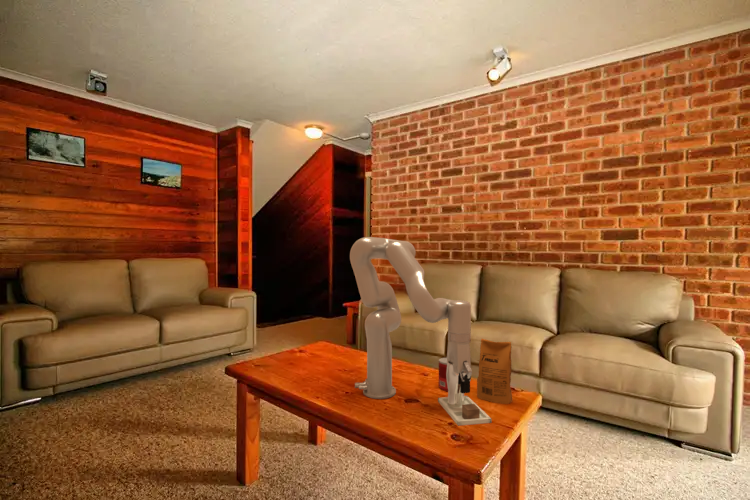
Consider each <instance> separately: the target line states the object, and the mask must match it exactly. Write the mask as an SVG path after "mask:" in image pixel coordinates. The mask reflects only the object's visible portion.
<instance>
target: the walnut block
mask: <svg viewBox="0 0 750 500" xmlns="http://www.w3.org/2000/svg"><path fill="white" fill-rule="evenodd" d="M475 404H476V403H475ZM475 404H465V405H462V417H463V419H475V418H480V409H479V408H478V407H477V406H476V405H475Z"/></svg>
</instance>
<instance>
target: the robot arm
mask: <svg viewBox="0 0 750 500" xmlns="http://www.w3.org/2000/svg"><path fill="white" fill-rule="evenodd" d="M416 254H417V253H416V248H415V246H414V245H413V244H412V243H411V242H409V241H407V240H397V239H392V238H385V237H375V236H374V237H373V236H365V237H361V238H359V239H357V240H356V241H355V242H354V243H353V244H352V246H351V248H350V251H349V261H350V264H351V268H352V270H353V275H354V276H355V281H356V285H357V288H358V293H359V295H360V299H361V303H362V304H363V305H364V306H365V307H366V308H377V310H374V311H372V312H370V313H369V314H368V315H367V316H366V318H365V320H364V330H365V337H366V358H367V359H366V371H367V372H366V378H365V381H362V382H354V388H355V389H358V390H360V391H362V392H363V396H365V397H368V398H369V399H370V398H371V399H379V400H383V399H389V398H392V397H394V396H395V395H396V394H397V389H396V388H395V387H394V386H393V352H392V351H393V347H392V346H393V344H392V340H391V337H390V332H391V333H392V332H393V331H396V330H397V329H398V328H399V327H400V325H401V323H402V314H401V311H400V307H399V302H398V300H397V297H396V293H395V290H394V289H393V287H392V286H391V284H390V283H388V282H386V281H380V280H379V276H378V273H377V270H376V267H375V265H373V263H372V259H376V260H377V259H380V260H381V259H383V260H387V261H388V262H389V264H390V265H391V266H392V267H393V269H394V270H395V272H396V273H397V274H398V276H399V277H400V279H401V280H402V282H403V283H404V284H405V289H406V293H407V296H408V298H409V301H410V303H411V304H412V306H413V307H414V309H415V310H416V311H417V313H418V315H420V317H421V318H422V319H423V320H424V321H425V322H427V323H431V324H434V323H438V322H441V321H443V320H446V319H447V324H448V325H447V340H448V342H447V353H446V358H447V363H448V360H449V363H450V364H452V365H453V371H454V372H455V373H456V374H459V373H460V376H461V380H462V381H460V392H461V393H464V394H469V393H471V379H472V374H473V371H472V368H471V367H472V364H471V362H472V361H471V360H472V358H471V357H472V356H471V346H470V344H471V342H472V341H471V339H472V334H471V332H472V331H471V328H472V326H471V325H472V324H471V323H472V321H471V320H472V319H471V318H472V309H471V307H472V305H471V303H470V302H469V301H467V300H464V299H462V300H461V299H457V300H456V299H454V300H453V299H449V298H444V297H437V298H434V297H433V296H432V295H431V293H430V292H429V290H428V289H427V286H426V284H425V280H424V279H425V270H424V268H423V267H422V266H421V264H420V263H419V261H418V260H417V258H416ZM464 370H466V371H464ZM463 374H466V375H465V376H463Z"/></svg>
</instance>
